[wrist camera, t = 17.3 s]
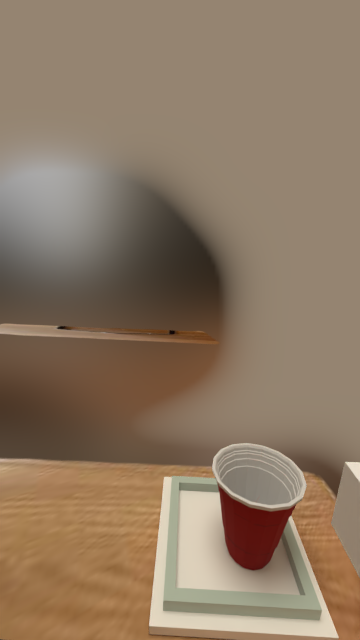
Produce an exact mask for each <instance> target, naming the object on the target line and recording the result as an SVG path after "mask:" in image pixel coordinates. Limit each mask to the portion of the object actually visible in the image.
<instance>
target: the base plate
mask: <svg viewBox="0 0 360 640" xmlns="http://www.w3.org/2000/svg"><path fill="white" fill-rule="evenodd" d="M149 634H154V635H170V636H185V637H201V638H217V639H233V640H338V639H339V637H338V635H337V632H336V630H335V627H334V624H333V622H332V619H331V617H330V614H329V612H328V609H327V606H326V604H325V601H324V599H323V596H322V594H321V591H320V588H319V586H318V583H317V581H316V578H315V575H314V573H313V570H312V568H311V565H310V563H309V560H308V557H307V555H306V552H305V550H304V547H303V544H302V542H301V539H300V537H299V534H298V532H297V529H296V526H295V524H294V521H293V519H292V516H290V517H289V519H288V522H287V524H286V526H285V529H284V531H283V534H282V536H281V539H280V541H279V543H278V546H277V548H275V551H274V553H273V556H272V558H271V560H270V562H269V563H268V564H267V565H266V566H265V567H264V568H262V569H259V570H250V569H246V568H243V567H242V566H240V565H239V564H237V563H236V562H235V561H234V560H233V558H232V557H231V556H230V554H229V552H228V549H227V546H226V542H225V535H224V527H223V522H222V512H221V503H220V493H219V490H218V484H217V480H216V478H201V477H182V476H172V477H164V485H163V495H162V504H161V514H160V524H159V534H158V543H157V553H156V563H155V573H154V583H153V592H152V602H151V612H150V622H149Z"/></svg>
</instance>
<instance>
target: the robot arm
mask: <svg viewBox="0 0 360 640" xmlns="http://www.w3.org/2000/svg"><path fill="white" fill-rule="evenodd" d="M331 524H332V526H333V528H334V530H335V532H336V533H337V535H338V537H339V539H340V541H341V543H342V545H343V547H344V549H345V551H346V553H347V555H348V556H349V558H350V560H351V562H352V564H353V566H354V568H355V570H356V572H357V574H358V576H359V578H360V463H356V462H345V464H344V469H343V473H342V478H341V482H340V487H339V491H338V495H337V500H336V504H335V509H334V513H333V518H332V522H331Z"/></svg>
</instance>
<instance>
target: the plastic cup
mask: <svg viewBox="0 0 360 640" xmlns="http://www.w3.org/2000/svg"><path fill="white" fill-rule="evenodd" d="M212 470H213V473H214V476H215V478H216V480H217V484H218V490H219V493H220V503H221V512H222V522H223V527H224V535H225V542H226V546H227V549H228V552H229V554H230V556H231V557H232V558H233V560H234V561H235V562H236V563H237V564H239V565H240V566H242V567H243V568H246V569H250V570H259V569H262V568H264V567H265V566H266V565H267V564H268V563H269V562H270V560H271V558H272V556H273V553H274V551H275V548H277V546H278V543H279V541H280V539H281V536H282V534H283V531H284V529H285V526H286V524H287V522H288V519H289V517H290V516H291V514H292V511H293V510H294V508H295V506H296V504H297V503H298V502H300V501H301V500H302V498H303V495H304V492H305V489H306V486H307V485H306V482H305V479H304V476H303V473H302V471H301V470H300V469H299V468H298V467H297V466H296V464H294V462H293V461H292V460H290V459H289V458H287V457H286V456H284V455H283V454H281V453H280V452H278V451H275V450H273V449H270V448H268V447H265V446H261V445H255V444H249V443H244V444H233V445H230V446H228V447H225V448H223V449H221V450H220V451H219V452H218V453H217V454H216V455H215V457H214V459H213V466H212Z"/></svg>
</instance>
